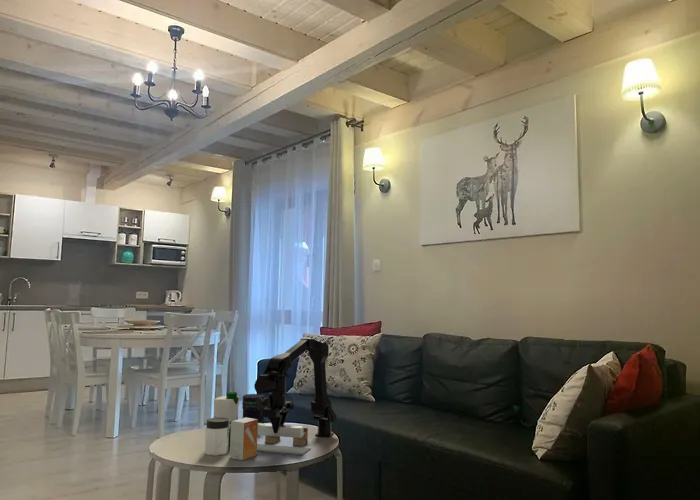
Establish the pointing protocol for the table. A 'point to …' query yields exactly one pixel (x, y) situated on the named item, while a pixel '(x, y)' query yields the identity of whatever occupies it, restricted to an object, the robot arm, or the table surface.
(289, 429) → the long white bar
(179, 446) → the table surface
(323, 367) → the robot arm
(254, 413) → the storage jar
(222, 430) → the jar
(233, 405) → the milk carton
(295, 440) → the post
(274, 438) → the post
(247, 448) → the small box
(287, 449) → the mat
